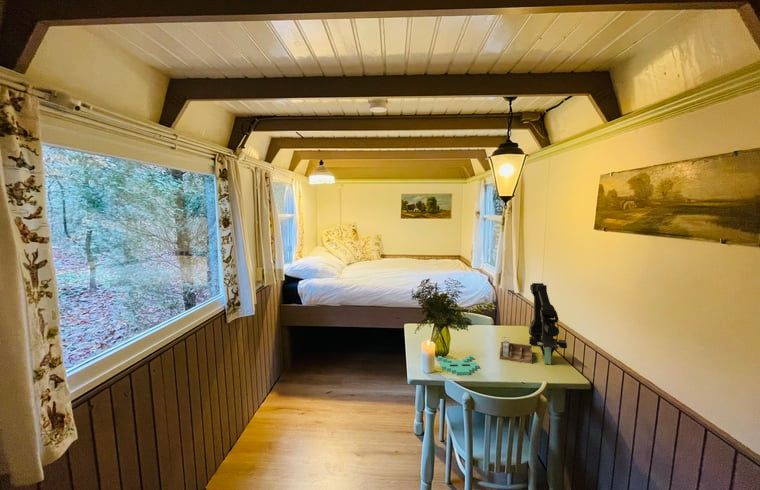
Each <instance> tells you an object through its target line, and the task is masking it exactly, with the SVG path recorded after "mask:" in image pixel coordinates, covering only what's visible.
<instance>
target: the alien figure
mask: <svg viewBox="0 0 760 490" xmlns="http://www.w3.org/2000/svg"><path fill="white" fill-rule="evenodd" d="M437 360H438V362H439V361H440V368H441V370H442V371H446V372H447V373H449V372H450V373H451V374H455V375H456V376H470V374H473V373H474V372H476V370H479V367H480V366H479V364H478V363H477V361H473V360H474V356H473V355H467V356H466V357H465V358H463V359H462V360H452V359H451V358H450V359H449V358H448V359H447V357H443V356H442V355H437ZM472 361H473V362H472Z"/></svg>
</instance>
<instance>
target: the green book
mask: <svg viewBox="0 0 760 490" xmlns="http://www.w3.org/2000/svg"><path fill="white" fill-rule="evenodd" d="M543 347H544V346H543ZM551 359H552V357H551V348H550V347H544V356H543V360H544V364H545V365H551V363H552V360H551Z"/></svg>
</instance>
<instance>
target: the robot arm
mask: <svg viewBox="0 0 760 490" xmlns="http://www.w3.org/2000/svg"><path fill="white" fill-rule="evenodd" d="M547 288H548V286H547V285H546V284H544V283H543V282H532V283H531V284H530V286H529V290H530V293H531V294H532V296H533V320H532V321H531V322H530V325H529V329H528V334H529V345H531V346H532V347H533V346H536V347H539V349H540V350H541V353H542V356H543V357H544V347H550V348H551V358H552V356H553V353H554V352H555V350H557V349H559V348H561V349H567V348H568V343H567V340H565V339H558V338H554V337H557V336H558V335H559V334H560V330H559V328H558V326H556V324H557V323H559V316H558V312H557V310H556V309H555V307H554V305H553V304H551V302H550V301H551V300H550V297H549V294H548V292H547V291H548V290H547Z"/></svg>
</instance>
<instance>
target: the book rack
mask: <svg viewBox="0 0 760 490" xmlns="http://www.w3.org/2000/svg"><path fill="white" fill-rule="evenodd" d="M532 348H533V345H531V344H529V345H528V344H524V343H523V344H521V343H513V342H510V339H508V338H504V339H503V341H501V342H500V348H499V360H504V361H509V362H518V363H524V364H531V365H532V364H533V352H532V351H533V349H532Z"/></svg>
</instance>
